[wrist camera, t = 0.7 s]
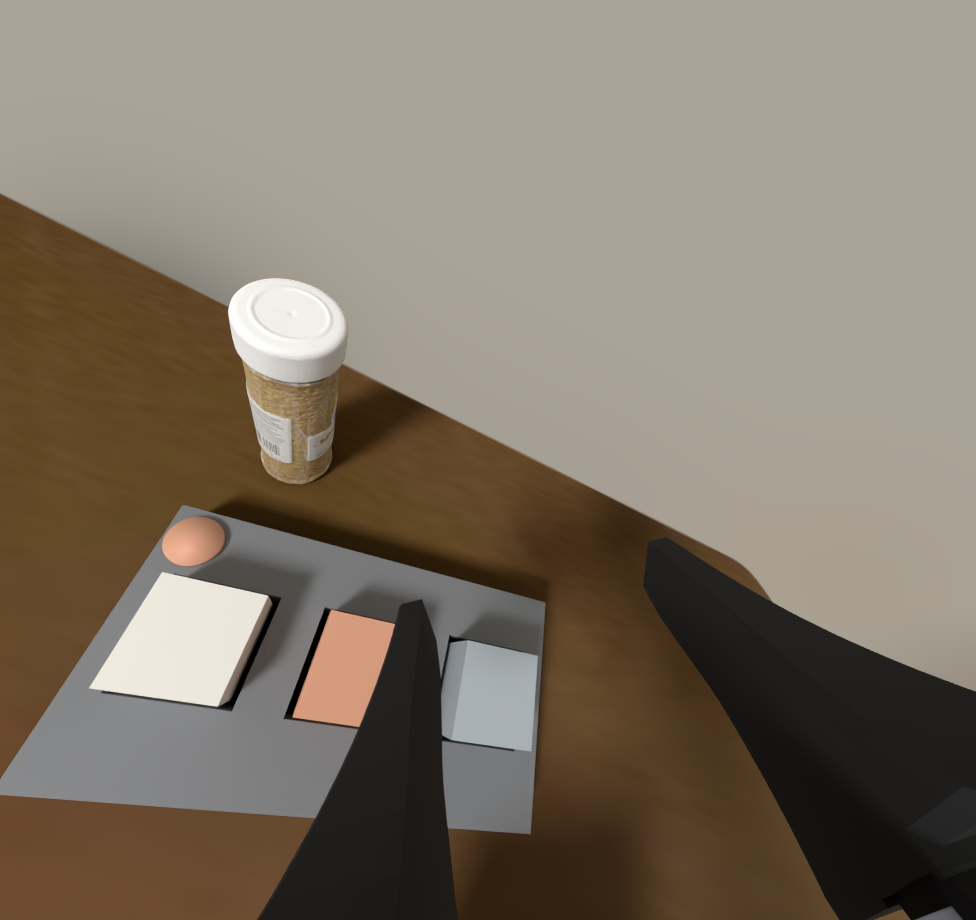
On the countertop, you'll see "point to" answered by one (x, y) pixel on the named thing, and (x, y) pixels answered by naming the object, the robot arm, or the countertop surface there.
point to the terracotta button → (344, 669)
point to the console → (270, 689)
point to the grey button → (488, 695)
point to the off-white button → (186, 642)
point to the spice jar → (290, 372)
